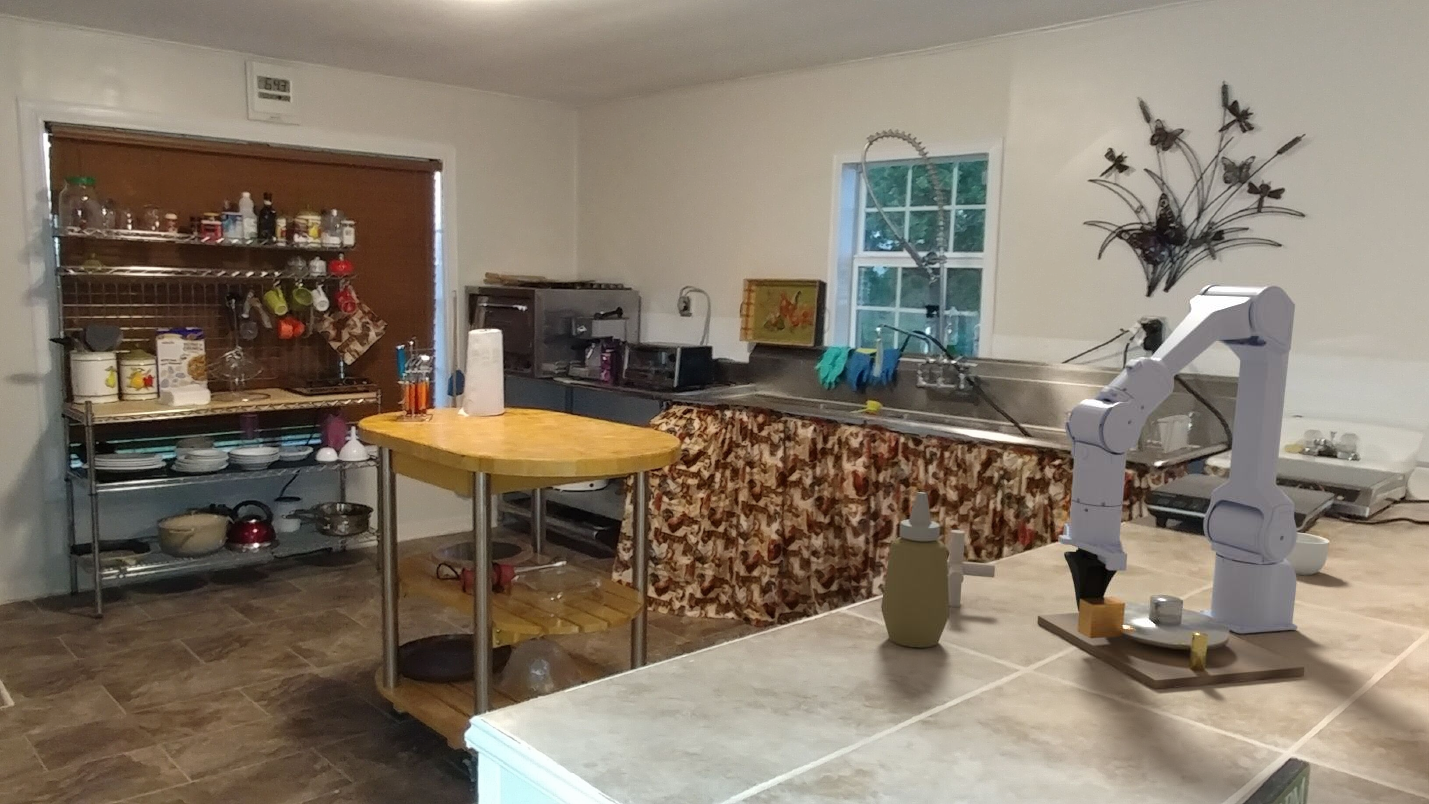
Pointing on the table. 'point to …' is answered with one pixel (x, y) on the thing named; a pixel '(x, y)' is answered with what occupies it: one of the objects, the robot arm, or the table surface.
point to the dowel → (1198, 651)
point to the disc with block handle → (1149, 622)
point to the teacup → (1308, 554)
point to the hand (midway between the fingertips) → (1087, 613)
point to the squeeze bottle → (916, 581)
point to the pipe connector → (962, 567)
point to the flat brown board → (1176, 658)
